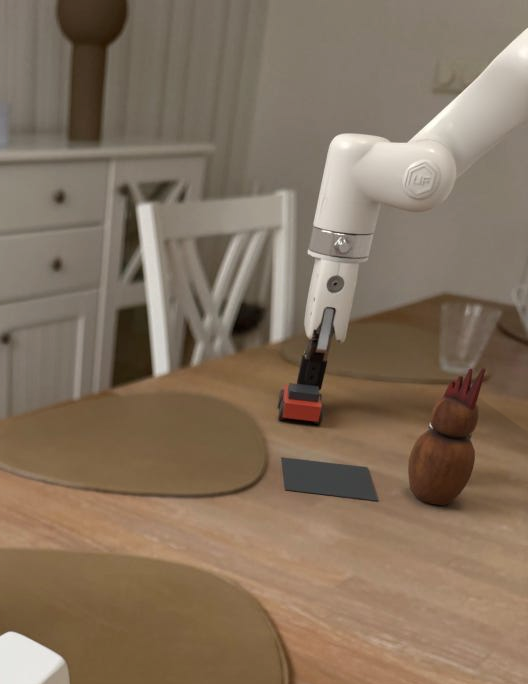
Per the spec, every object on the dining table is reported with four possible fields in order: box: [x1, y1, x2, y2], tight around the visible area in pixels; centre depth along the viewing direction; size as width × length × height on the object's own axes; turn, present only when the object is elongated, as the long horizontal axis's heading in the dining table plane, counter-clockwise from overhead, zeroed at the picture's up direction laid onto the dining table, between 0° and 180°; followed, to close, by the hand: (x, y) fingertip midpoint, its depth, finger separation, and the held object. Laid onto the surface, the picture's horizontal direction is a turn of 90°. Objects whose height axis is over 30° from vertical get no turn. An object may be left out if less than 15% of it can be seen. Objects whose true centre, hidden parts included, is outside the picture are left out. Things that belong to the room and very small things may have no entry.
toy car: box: [277, 382, 325, 425], centre depth 129 cm, size 8×4×5 cm
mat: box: [281, 456, 379, 502], centre depth 111 cm, size 10×10×1 cm
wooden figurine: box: [407, 368, 486, 506], centre depth 104 cm, size 7×6×15 cm
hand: (308, 387), depth 133 cm, fingers closed
